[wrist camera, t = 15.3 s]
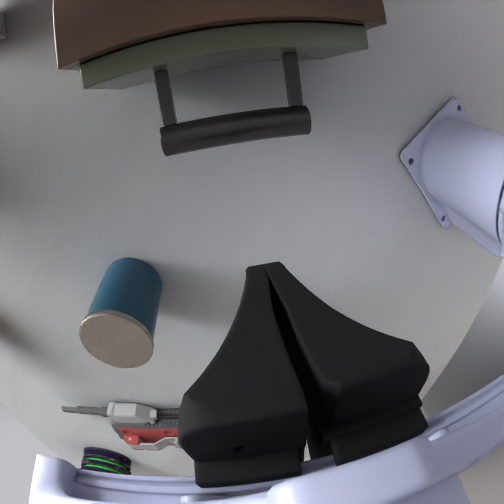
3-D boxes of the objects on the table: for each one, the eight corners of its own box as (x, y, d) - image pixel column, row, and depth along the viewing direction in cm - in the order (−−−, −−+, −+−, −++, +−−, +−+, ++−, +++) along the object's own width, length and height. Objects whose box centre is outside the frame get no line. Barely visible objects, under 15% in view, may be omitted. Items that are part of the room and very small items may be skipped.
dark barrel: (88, 458, 42) (83, 518, 29) (78, 442, 37) (69, 511, 25) (133, 467, 44) (132, 529, 31) (129, 453, 40) (126, 525, 27)
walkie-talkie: (202, 397, 31) (60, 395, 29) (203, 429, 27) (53, 422, 26) (214, 427, 35) (89, 426, 34) (216, 454, 31) (85, 449, 30)
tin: (175, 280, 22) (167, 342, 17) (144, 316, 24) (132, 377, 18) (121, 244, 20) (95, 301, 15) (94, 286, 22) (70, 344, 16)
